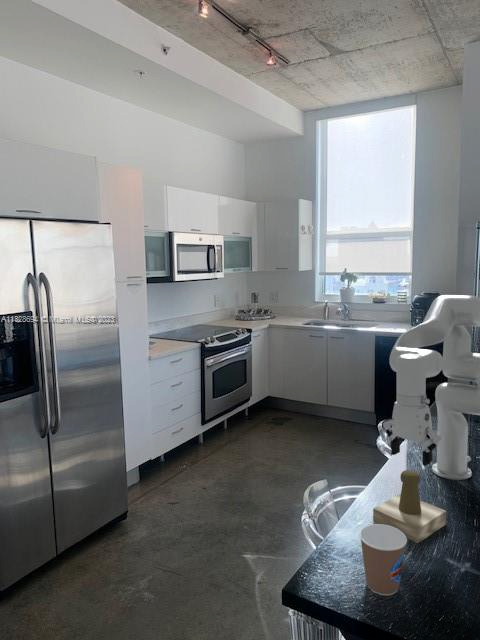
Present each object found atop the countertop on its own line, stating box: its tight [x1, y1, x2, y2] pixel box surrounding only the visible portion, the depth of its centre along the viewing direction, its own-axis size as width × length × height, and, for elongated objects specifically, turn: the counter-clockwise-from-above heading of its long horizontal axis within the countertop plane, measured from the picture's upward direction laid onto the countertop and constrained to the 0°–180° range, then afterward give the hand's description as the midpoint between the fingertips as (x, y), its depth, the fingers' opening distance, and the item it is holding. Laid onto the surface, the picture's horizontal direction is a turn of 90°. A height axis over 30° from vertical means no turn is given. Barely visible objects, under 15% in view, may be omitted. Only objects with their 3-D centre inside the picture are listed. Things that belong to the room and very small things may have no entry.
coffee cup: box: [358, 523, 408, 596], centre depth 109 cm, size 10×10×12 cm
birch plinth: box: [372, 493, 447, 544], centre depth 135 cm, size 14×14×4 cm
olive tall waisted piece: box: [399, 469, 421, 515], centre depth 134 cm, size 6×6×11 cm
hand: (410, 458), depth 134 cm, fingers open, 9 cm apart
